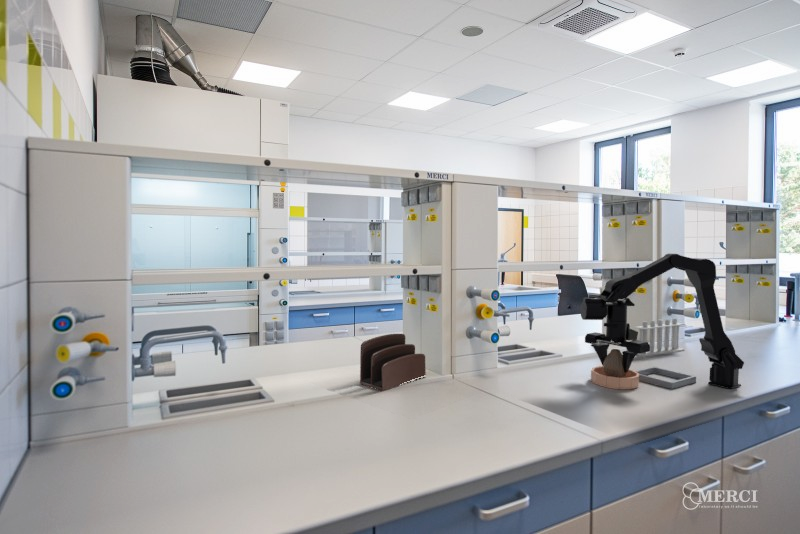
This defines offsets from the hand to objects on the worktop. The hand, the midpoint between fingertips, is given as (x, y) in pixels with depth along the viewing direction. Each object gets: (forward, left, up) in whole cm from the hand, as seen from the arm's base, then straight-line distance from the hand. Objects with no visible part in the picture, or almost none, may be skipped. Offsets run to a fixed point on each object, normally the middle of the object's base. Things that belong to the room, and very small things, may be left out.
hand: (615, 369), depth 149 cm
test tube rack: (+16, -52, -4) cm, 55 cm away
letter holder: (+37, +58, -5) cm, 69 cm away
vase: (0, 0, -3) cm, 3 cm away
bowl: (0, 0, -4) cm, 4 cm away
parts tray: (-6, -16, -4) cm, 18 cm away
